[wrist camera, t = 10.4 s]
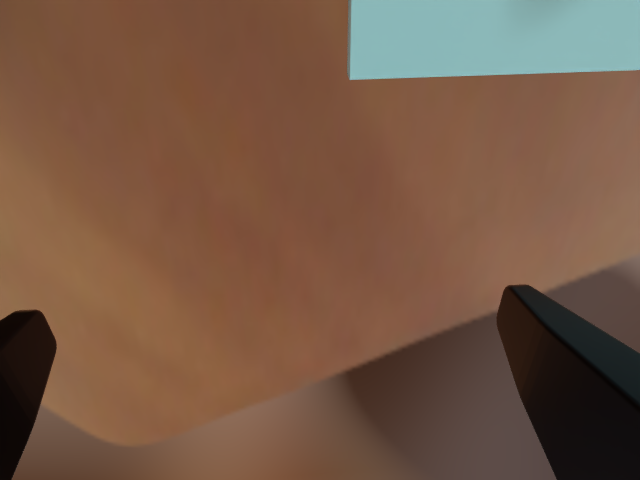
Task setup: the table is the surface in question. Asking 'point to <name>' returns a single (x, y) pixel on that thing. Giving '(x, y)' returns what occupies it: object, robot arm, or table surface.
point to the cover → (490, 37)
